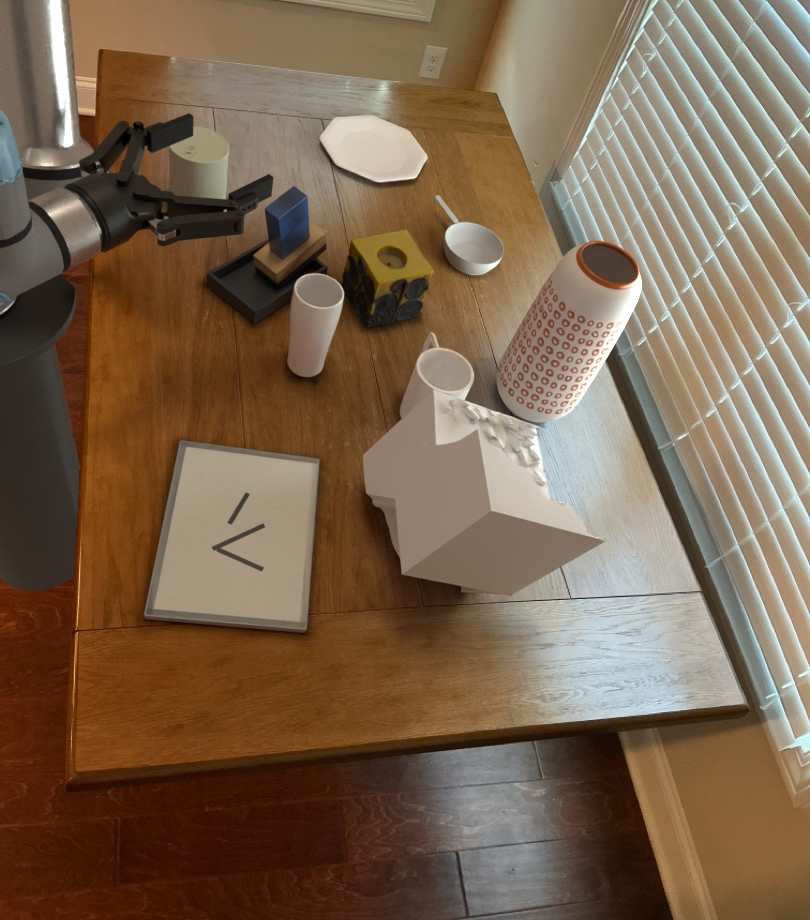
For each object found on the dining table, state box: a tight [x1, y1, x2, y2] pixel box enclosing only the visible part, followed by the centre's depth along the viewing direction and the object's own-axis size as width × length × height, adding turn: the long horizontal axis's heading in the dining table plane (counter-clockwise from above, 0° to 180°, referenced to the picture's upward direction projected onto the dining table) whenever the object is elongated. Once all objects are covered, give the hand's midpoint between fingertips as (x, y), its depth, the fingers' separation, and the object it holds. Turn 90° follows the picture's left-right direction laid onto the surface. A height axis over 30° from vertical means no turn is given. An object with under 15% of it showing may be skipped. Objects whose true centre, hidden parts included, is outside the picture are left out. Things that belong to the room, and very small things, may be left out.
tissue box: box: [362, 390, 607, 597], centre depth 90 cm, size 20×16×25 cm
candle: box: [340, 228, 435, 328], centre depth 118 cm, size 10×10×10 cm
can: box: [168, 125, 230, 212], centre depth 119 cm, size 9×9×12 cm
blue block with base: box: [253, 185, 328, 290], centre depth 114 cm, size 11×5×13 cm, turn 141°
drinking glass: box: [286, 273, 345, 378], centre depth 105 cm, size 7×7×15 cm
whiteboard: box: [143, 439, 321, 634], centre depth 92 cm, size 18×24×1 cm
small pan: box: [433, 195, 505, 276], centre depth 133 cm, size 11×18×4 cm, turn 32°
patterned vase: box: [496, 240, 643, 423], centre depth 106 cm, size 13×13×28 cm
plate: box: [318, 114, 428, 184], centre depth 144 cm, size 20×20×2 cm
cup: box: [399, 331, 475, 419], centre depth 108 cm, size 8×12×10 cm
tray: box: [205, 238, 329, 325], centre depth 117 cm, size 16×10×3 cm, turn 141°
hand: (230, 154), depth 92 cm, fingers open, 13 cm apart
